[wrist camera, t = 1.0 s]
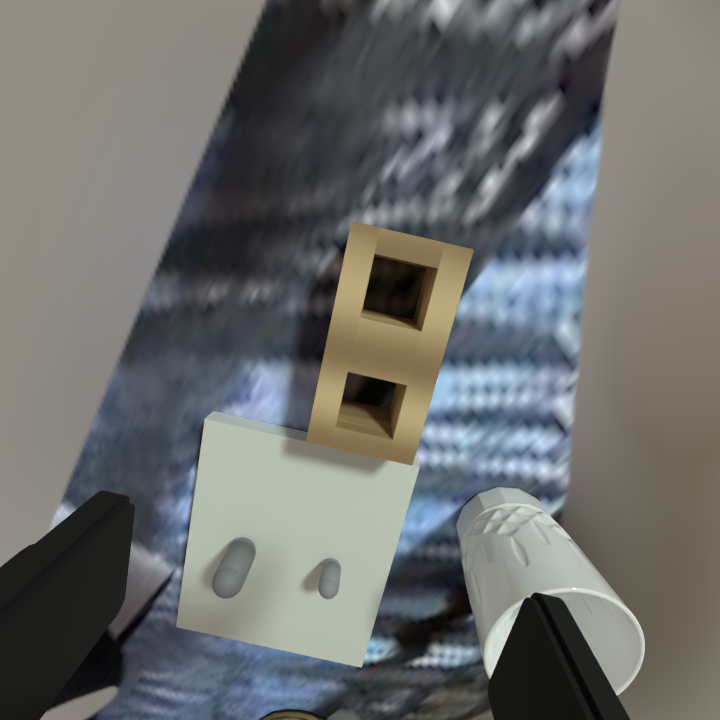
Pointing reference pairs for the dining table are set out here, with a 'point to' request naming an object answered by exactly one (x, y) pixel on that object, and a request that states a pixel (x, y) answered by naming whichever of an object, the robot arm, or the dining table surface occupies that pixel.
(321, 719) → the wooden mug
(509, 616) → the white cup
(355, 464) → the post board
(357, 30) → the dining table surface
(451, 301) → the tan hollow block
